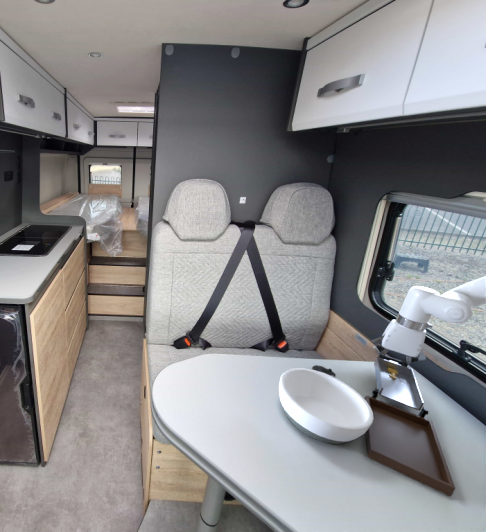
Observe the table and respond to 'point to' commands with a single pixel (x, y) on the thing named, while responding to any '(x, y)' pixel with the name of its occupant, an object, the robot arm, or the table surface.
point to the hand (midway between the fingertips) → (390, 366)
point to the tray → (407, 445)
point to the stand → (422, 413)
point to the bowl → (323, 406)
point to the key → (392, 372)
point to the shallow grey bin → (397, 383)
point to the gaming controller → (324, 370)
